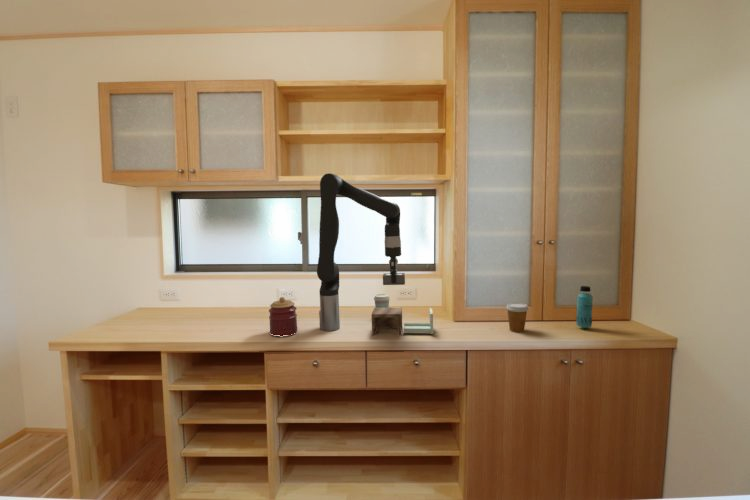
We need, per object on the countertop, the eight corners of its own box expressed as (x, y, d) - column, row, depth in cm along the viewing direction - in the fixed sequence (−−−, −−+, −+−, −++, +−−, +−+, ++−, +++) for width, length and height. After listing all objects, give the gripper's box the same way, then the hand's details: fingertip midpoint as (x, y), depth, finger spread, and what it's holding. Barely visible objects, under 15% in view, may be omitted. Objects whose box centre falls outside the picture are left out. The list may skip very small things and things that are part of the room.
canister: (294, 337, 174) (292, 299, 173) (266, 338, 174) (264, 300, 172) (299, 328, 187) (298, 293, 186) (273, 329, 187) (271, 294, 185)
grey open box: (383, 285, 174) (382, 275, 174) (384, 282, 180) (383, 273, 179) (404, 284, 173) (404, 275, 173) (405, 282, 179) (404, 273, 178)
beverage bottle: (572, 327, 177) (573, 285, 175) (583, 325, 179) (584, 284, 177) (584, 331, 171) (586, 288, 169) (595, 329, 173) (596, 286, 171)
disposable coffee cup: (525, 327, 179) (526, 302, 178) (529, 333, 170) (530, 307, 169) (504, 326, 181) (504, 302, 180) (507, 333, 172) (507, 307, 171)
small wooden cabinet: (372, 335, 174) (371, 314, 173) (375, 327, 186) (374, 307, 185) (401, 335, 172) (400, 314, 171) (402, 327, 184) (401, 307, 183)
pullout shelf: (403, 333, 173) (403, 313, 172) (404, 326, 183) (403, 308, 182) (433, 333, 172) (432, 313, 171) (432, 327, 182) (431, 308, 181)
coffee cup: (391, 315, 206) (391, 294, 205) (388, 319, 198) (387, 297, 197) (376, 314, 209) (376, 293, 207) (372, 319, 200) (371, 297, 199)
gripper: (386, 244, 182) (387, 279, 184) (383, 247, 168) (384, 284, 170) (401, 244, 181) (402, 278, 183) (400, 247, 167) (401, 284, 169)
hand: (394, 281), depth 176 cm, fingers closed on grey open box, 5 cm apart
